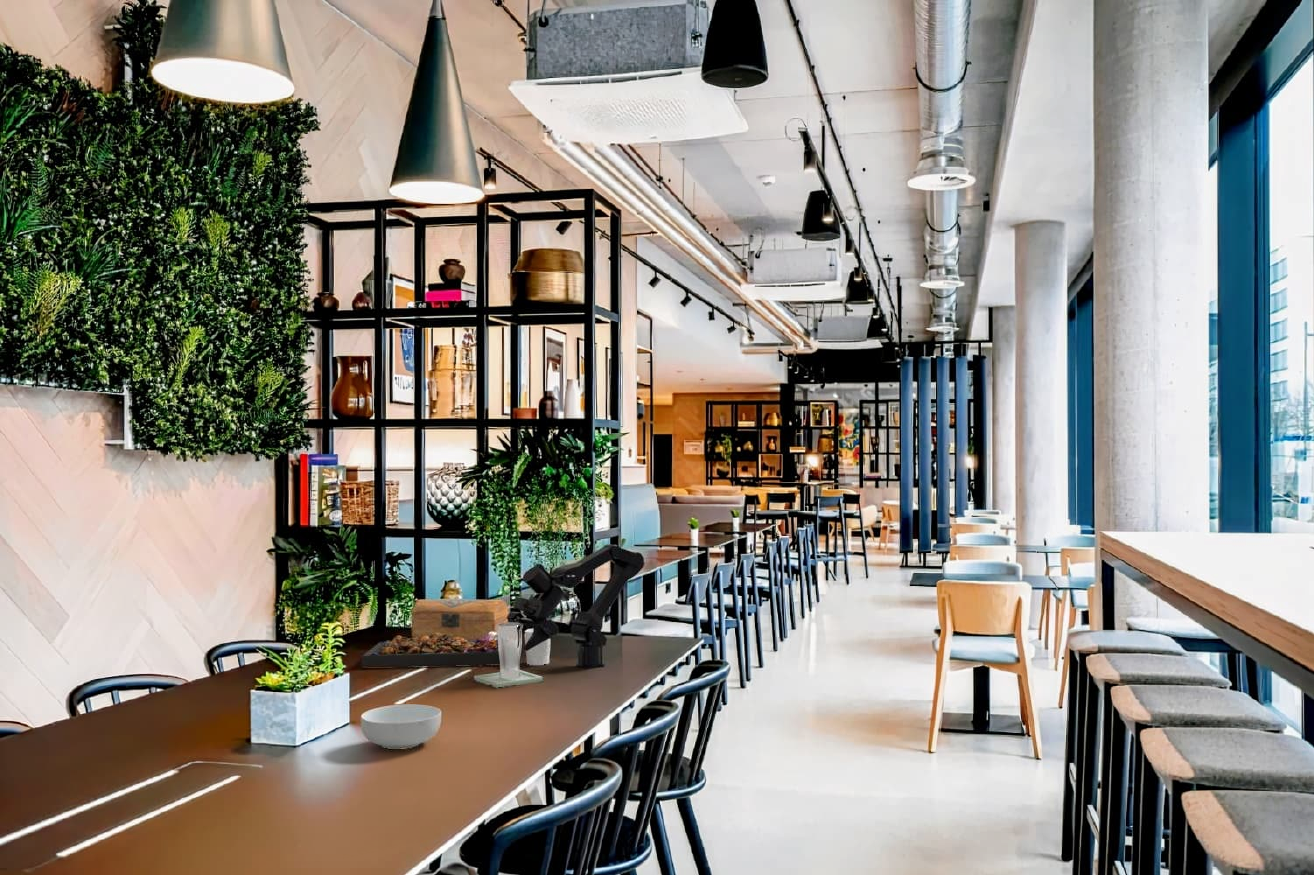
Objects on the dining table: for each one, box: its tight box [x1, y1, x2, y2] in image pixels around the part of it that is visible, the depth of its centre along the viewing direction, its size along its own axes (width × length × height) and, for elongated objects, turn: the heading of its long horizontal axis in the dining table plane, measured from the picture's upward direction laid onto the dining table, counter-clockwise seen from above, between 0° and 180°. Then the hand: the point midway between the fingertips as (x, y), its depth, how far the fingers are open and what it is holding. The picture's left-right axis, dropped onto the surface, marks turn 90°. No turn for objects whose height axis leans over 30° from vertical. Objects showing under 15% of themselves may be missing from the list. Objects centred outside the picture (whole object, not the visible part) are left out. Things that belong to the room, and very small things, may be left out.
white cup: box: [524, 628, 551, 666], centre depth 323 cm, size 8×8×10 cm
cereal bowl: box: [360, 703, 442, 749], centre depth 231 cm, size 17×17×7 cm
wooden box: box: [410, 598, 509, 640], centre depth 370 cm, size 30×16×14 cm, turn 80°
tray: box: [473, 669, 544, 689], centre depth 298 cm, size 14×14×1 cm
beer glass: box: [497, 622, 523, 680], centre depth 298 cm, size 7×7×15 cm
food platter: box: [361, 632, 500, 668], centre depth 333 cm, size 45×25×10 cm, turn 93°
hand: (515, 648), depth 300 cm, fingers open, 9 cm apart
